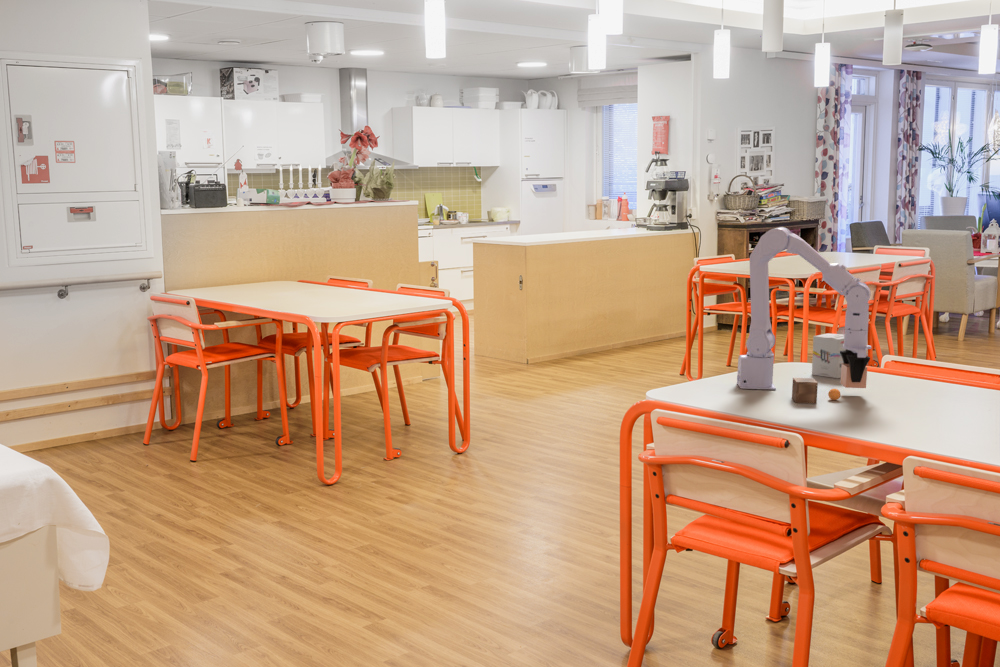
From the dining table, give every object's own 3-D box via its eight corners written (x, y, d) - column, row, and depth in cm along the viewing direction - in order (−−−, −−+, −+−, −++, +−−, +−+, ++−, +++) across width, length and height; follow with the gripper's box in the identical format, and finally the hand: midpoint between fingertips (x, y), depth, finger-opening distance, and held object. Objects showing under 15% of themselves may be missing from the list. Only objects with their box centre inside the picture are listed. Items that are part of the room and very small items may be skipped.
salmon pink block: (845, 387, 247) (846, 367, 246) (840, 383, 252) (841, 363, 252) (865, 388, 247) (867, 367, 246) (860, 384, 252) (861, 363, 251)
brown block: (795, 402, 241) (796, 381, 241) (791, 398, 247) (792, 377, 246) (816, 403, 241) (817, 382, 240) (812, 398, 246) (813, 378, 245)
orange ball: (829, 401, 243) (830, 389, 243) (826, 398, 246) (827, 387, 246) (841, 401, 243) (842, 390, 243) (838, 398, 246) (839, 387, 246)
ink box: (825, 370, 283) (827, 331, 281) (852, 375, 277) (854, 335, 275) (810, 374, 278) (812, 335, 276) (837, 379, 271) (840, 338, 270)
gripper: (879, 333, 240) (876, 385, 242) (864, 325, 254) (861, 374, 256) (851, 333, 240) (848, 385, 243) (837, 324, 255) (834, 373, 257)
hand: (853, 379), depth 249 cm, fingers closed on salmon pink block, 5 cm apart
